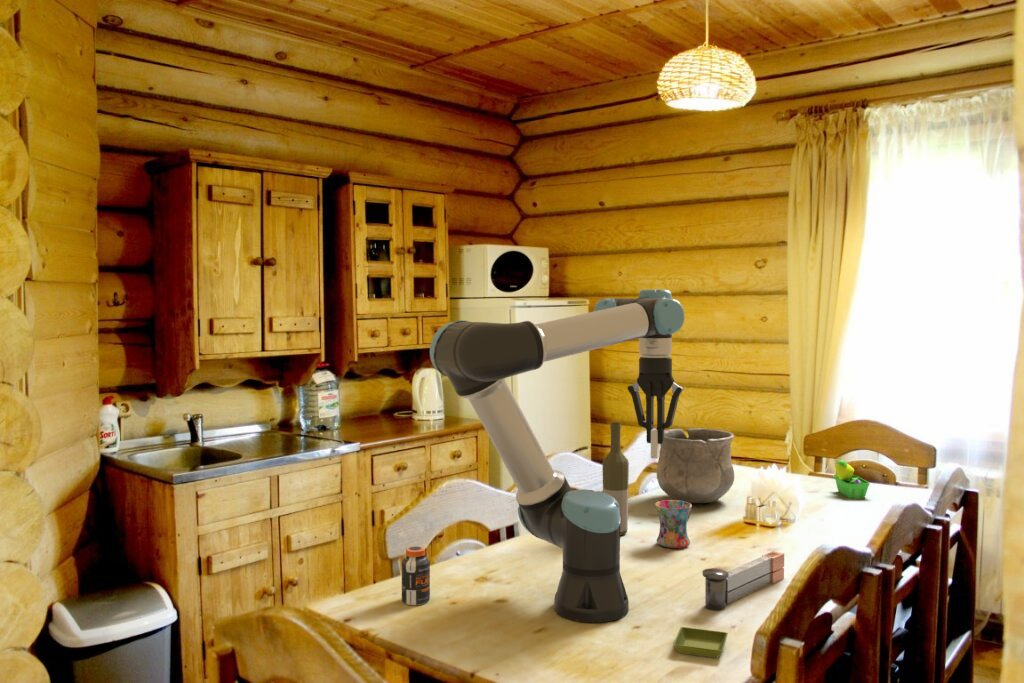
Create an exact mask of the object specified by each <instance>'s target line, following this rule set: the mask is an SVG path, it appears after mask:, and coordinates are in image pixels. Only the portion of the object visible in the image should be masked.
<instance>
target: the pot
mask: <svg viewBox="0 0 1024 683" xmlns="http://www.w3.org/2000/svg"><path fill="white" fill-rule="evenodd" d="M686 432H687V435H688V436H687V435H686V433H685V431H684V429H682V428H671V429H665V430H664V442H663V443H662V444H660V457H658V458H657V459H658V460H657V468H656V479H657V483H658V486H659V487H660V489H661V490H662V491H663V492H664V493H665V494H666V495H667V496H669V497H670V498H672V499H673V500H679V501H685V502H688V503H690V504H708V503H712V502H716V501H718V500H719V499H721V498H722V497H723V496H725V495H726V494H727V493H728V492H729V491H730V489H731V488H732V486H733V485H734V483H735V470H734V467H733V464H732V454H731V453H732V449H731V446H732V441H733V439H734V438H735V434H734V433H733V432H730V431H727V430H722V429H710V428H702V427H701V428H700V427H699V428H698V427H697V428H696V427H694V428H687V429H686Z"/></svg>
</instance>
